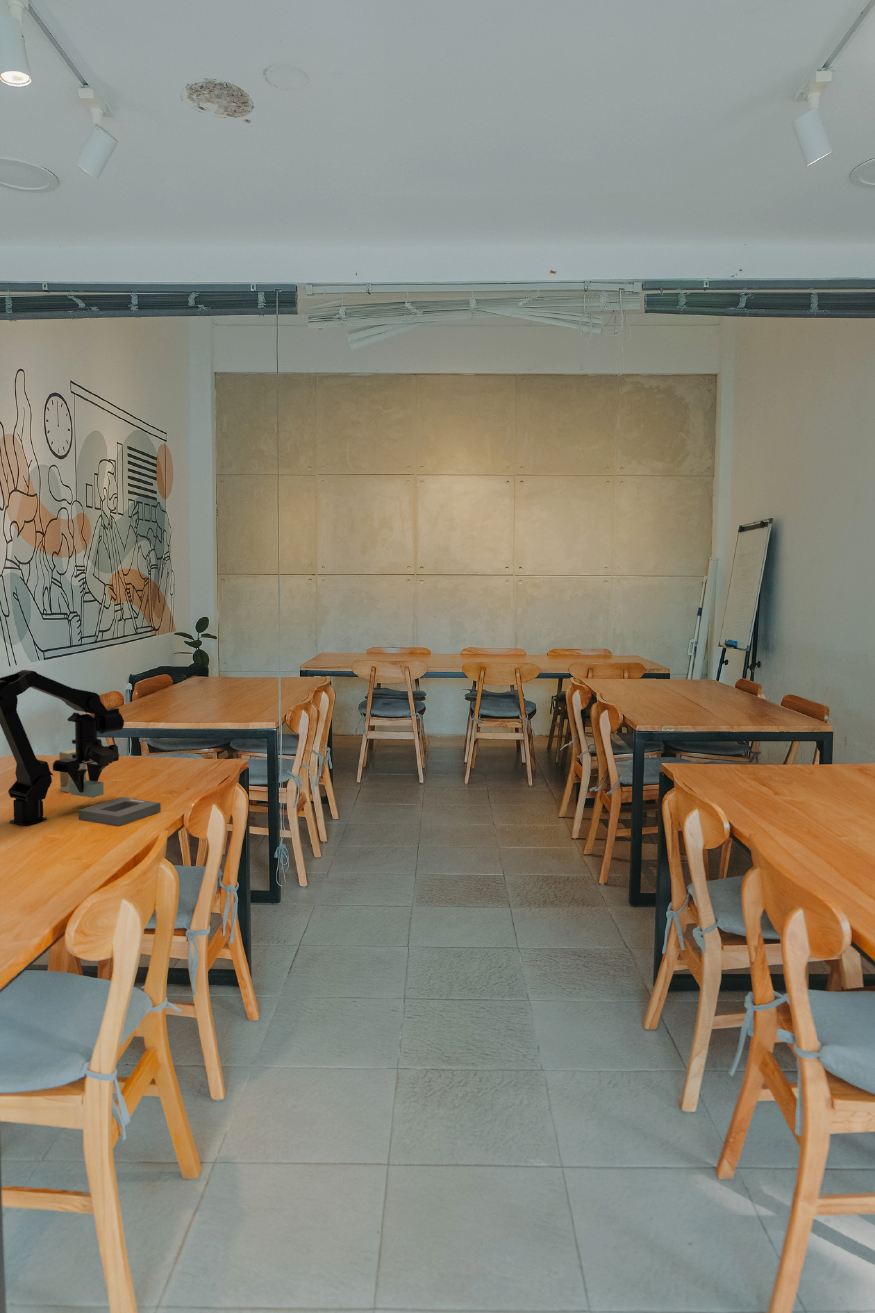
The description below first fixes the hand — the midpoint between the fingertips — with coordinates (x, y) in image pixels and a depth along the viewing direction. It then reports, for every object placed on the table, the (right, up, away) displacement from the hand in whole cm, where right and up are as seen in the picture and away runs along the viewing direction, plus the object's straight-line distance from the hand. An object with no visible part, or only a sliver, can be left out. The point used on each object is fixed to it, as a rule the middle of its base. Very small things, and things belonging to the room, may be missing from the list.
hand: (87, 790), depth 228 cm
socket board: (+12, -6, -7) cm, 15 cm away
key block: (0, -1, 0) cm, 1 cm away
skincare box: (-13, -3, +20) cm, 24 cm away
